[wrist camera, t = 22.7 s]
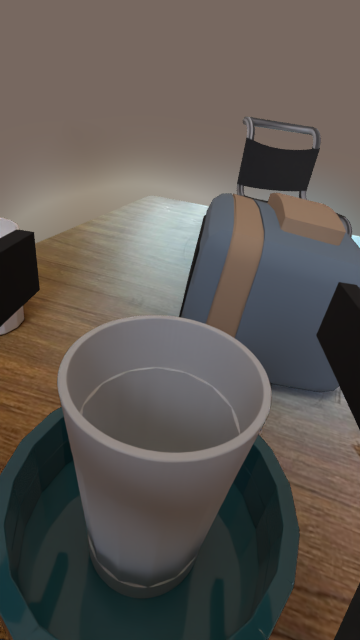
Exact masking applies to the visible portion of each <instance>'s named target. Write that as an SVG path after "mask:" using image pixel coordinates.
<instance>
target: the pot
mask: <svg viewBox="0 0 360 640" xmlns="http://www.w3.org/2000/svg"><path fill="white" fill-rule="evenodd" d="M299 537H300V533H299V526H298V521H297V516H296V511H295V506H294V501H293V496H292V491H291V487H290V484H289V482H288V480H287V478H286V476H285V474H284V472H283V470H282V468H281V466H280V464H279V462H278V460H277V458H276V457H275V455H274V453H273V451H272V449H271V448H270V447H269V446H268V445H267V443H266V442H265V441H264V440H263V439H262V438H261V437H260V436H259V434H258V436H257V438H256V440H255V442H254V443H253V445H252V447H251V449H250V451H249V453H248V455H247V457H246V458H245V460H244V462H243V464H242V466H241V468H240V470H239V471H238V473H237V475H236V477H235V479H234V481H233V483H232V485H231V487H230V489H229V491H228V493H227V495H226V497H225V499H224V501H223V503H222V505H221V507H220V509H219V511H218V513H217V515H216V517H215V519H214V521H213V523H212V525H211V527H210V529H209V531H208V533H207V535H206V537H205V539H204V541H203V543H202V545H201V547H200V549H199V551H198V554H197V557H196V560H195V562H194V565H193V567H192V568H191V570H190V572H189V573H188V575H187V576H186V577H185V578H184V579H183V581H182V582H181V583H180V584H178V585H177V586H176V587H175V588H173V589H172V590H170V591H168V592H167V593H164V594H162V595H159V596H156V597H152V598H133V597H129V596H125V595H123V594H120V593H118V592H117V591H115V590H113V589H112V588H111V587H109V586H108V585H107V584H106V583H105V582H104V581H103V580H102V579H101V577H100V576H99V575H98V573H97V571H96V570H95V568H94V566H93V563H92V561H91V557H90V553H89V547H88V532H87V527H86V521H85V516H84V511H83V506H82V501H81V496H80V490H79V485H78V480H77V475H76V470H75V465H74V460H73V455H72V451H71V447H70V442H69V438H68V433H67V428H66V424H65V419H64V415H63V410H62V407H60V408H58V409H57V410H55V411H53V412H52V413H50V414H49V415H48V416H47V417H46V418H45V419H44V420H43V421H42V422H41V423H40V424H38V425H37V426H36V427H35V428H34V429H33V430H32V431H31V432H30V433H29V434H28V435H27V436H26V437H25V438H23V439H22V441H21V442H20V444H19V445H18V447H17V448H16V450H15V452H14V453H13V455H12V457H11V458H10V460H9V461H8V463H7V465H6V466H5V468H4V470H3V471H2V473H1V474H0V621H1V623H2V626H3V628H4V630H5V633H6V635H7V637H8V639H9V640H268V639H269V637H270V635H271V633H272V631H273V629H274V627H275V625H276V623H277V621H278V619H279V617H280V615H281V613H282V611H283V609H284V606H285V604H286V602H287V600H288V598H289V596H290V594H291V592H292V590H293V588H294V584H295V574H296V565H297V556H298V547H299Z"/></svg>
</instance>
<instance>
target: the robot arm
mask: <svg viewBox="0 0 360 640" xmlns="http://www.w3.org/2000/svg"><path fill="white" fill-rule="evenodd" d="M39 290H40V288H39V278H38V268H37V258H36V248H35V239H34V232H29V231H23V230H17V229H16V230H14V231H12V232H11V233H9V234H7V235H5V236H3V237H1V238H0V327H1V326H2V325H3V324H4V323H5V322H6V321H7V320H8V319H9V318H10V317H11V316H12V315H13V314H14V313H16V312H17V311H18V310H19V309H20V308H21V307H22V306H23V305H24V304H25V303H26V302H27V301H28V300H29V299H30V298H31V297H32V296H34V295H35V294H36V293H37V292H38V291H39ZM316 336H317V338H318V341H319V343H320V345H321V347H322V349H323V351H324V354H325V356H326V358H327V360H328V362H329V364H330V367H331V369H332V371H333V373H334V375H335V377H336V379H337V382H338V384H339V386H340V388H341V390H342V392H343V395H344V397H345V399H346V401H347V403H348V405H349V408H350V410H351V412H352V414H353V416H354V418H355V421H356V423H357V425H358V427H359V429H360V288H359V287H358V286H357V285H355V284H349V283H342V282H339V283H338V285H337V287H336V290H335V292H334V294H333V297H332V299H331V301H330V304H329V306H328V309H327V311H326V313H325V316H324V318H323V320H322V323H321V325H320V327H319V330H318V332H317V334H316ZM0 640H4V639H0ZM334 640H360V583H359V586H358V588H357V590H356V592H355V594H354V597H353V599H352V601H351V603H350V605H349V608H348V610H347V612H346V614H345V616H344V619H343V621H342V623H341V625H340V627H339V630H338V632H337V634H336V636H335V638H334Z"/></svg>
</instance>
